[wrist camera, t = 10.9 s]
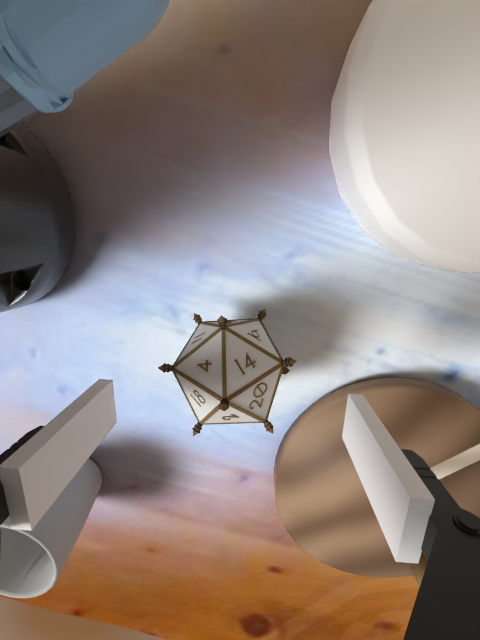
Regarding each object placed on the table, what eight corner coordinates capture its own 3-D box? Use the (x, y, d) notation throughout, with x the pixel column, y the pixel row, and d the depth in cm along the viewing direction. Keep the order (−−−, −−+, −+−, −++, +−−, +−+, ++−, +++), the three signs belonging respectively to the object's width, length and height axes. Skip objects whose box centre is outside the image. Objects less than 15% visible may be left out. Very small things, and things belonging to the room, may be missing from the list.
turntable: (231, 450, 27) (223, 521, 20) (432, 332, 23) (506, 371, 16) (344, 581, 31) (369, 677, 24) (534, 500, 27) (628, 588, 20)
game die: (219, 273, 23) (193, 297, 14) (307, 327, 24) (340, 386, 14) (168, 359, 26) (116, 432, 16) (250, 406, 26) (246, 502, 17)
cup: (103, 512, 31) (48, 611, 23) (12, 481, 30) (-78, 570, 22) (120, 457, 29) (67, 545, 21) (23, 423, 28) (-71, 498, 20)
